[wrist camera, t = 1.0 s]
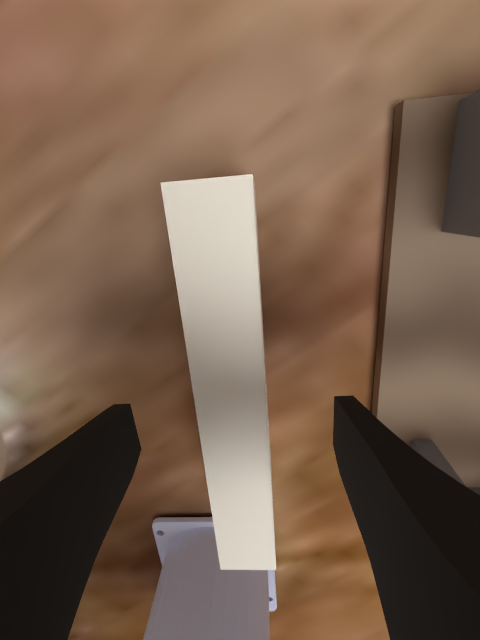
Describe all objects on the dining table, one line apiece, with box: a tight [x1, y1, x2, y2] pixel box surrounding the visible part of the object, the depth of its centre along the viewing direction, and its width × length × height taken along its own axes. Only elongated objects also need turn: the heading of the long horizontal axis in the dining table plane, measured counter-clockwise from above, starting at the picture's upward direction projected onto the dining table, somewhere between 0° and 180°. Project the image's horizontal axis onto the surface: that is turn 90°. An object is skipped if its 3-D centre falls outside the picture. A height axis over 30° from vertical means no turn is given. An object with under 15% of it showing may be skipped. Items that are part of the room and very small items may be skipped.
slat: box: [161, 174, 276, 570], centre depth 14 cm, size 16×2×6 cm, turn 5°
